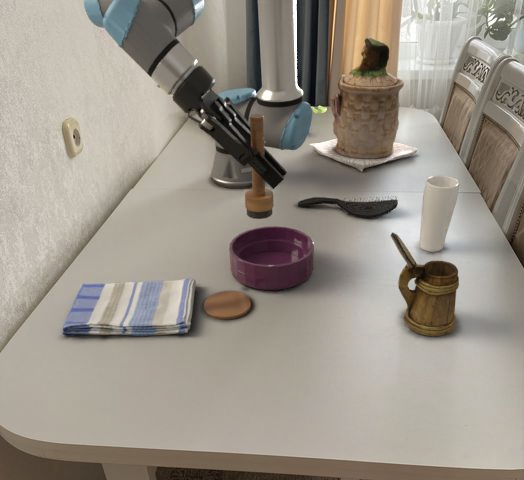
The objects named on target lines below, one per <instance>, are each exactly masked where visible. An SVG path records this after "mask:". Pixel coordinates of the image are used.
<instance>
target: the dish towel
mask: <svg viewBox="0 0 524 480" xmlns="http://www.w3.org/2000/svg"><path fill="white" fill-rule="evenodd" d="M196 284H197V283H196V279H194V278H183V279H175V280H147V281H146V280H145V281H135V282H133V281H131V282H130V281H128V282H127V281H124V282H123V281H122V282H121V281H119V282H113V283H83V284H81V287H80V289H79V291H78V292H77V295H76V296H75V299H74V300H73V301H74V302H73V304H72V306H71V308H70V311H69V313H68V315H67V317H66V320H65V323H64V324H63V327H62V335H63V336H69V337H71V336H85V335H97V336H98V335H99V336H108V335H117V336H119V335H120V336H121V335H122V336H125V335H126V336H139V337H140V336H141V337H143V336H146V337H147V336H160V335H177V334H179V335H180V334H187V333H188V332H189V330H191V325H192V322H191V321H192V318H193V317H192V316H193V310H194V301H195V291H196V286H197V285H196Z"/></svg>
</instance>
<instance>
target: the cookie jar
mask: <svg viewBox="0 0 524 480" xmlns="http://www.w3.org/2000/svg"><path fill="white" fill-rule="evenodd" d="M364 44H365V45H364V46H363V48H362V50H361V53H360V55H361V56H362V59H361V62H360V64H359V65H358V66H356V67H355V68H353V69H352V70H351V71H349V73H347V75H345V74H342V75H341V76H340V77H339V80H338V83H337V88H338V90H339V93H336V94H335V95H334V97H331V98H330V101H329V106H330V108H331V113H332V116H333V119H334V120H333V124H332V125H333V127H332V128H333V129H332V131H333V134H334V135H335V137H336V138H333V139H330V140H326V141H322V142H315V143H310V144H309V146H310V147H312V148H313V149H314V150H315V152H317V153H318V154H319V155H321V156H324V157H326V158H329V159H332V160H335V161H337V162H340V163H342V164H345V165H347V166H350V167H352V168H355V169H357V170H358V171H360V172H363V171H364V169H367V168H369V167H374V166H379V165H381V164H385V163H388V162H391V161H395V160H399V159H403V158H408V157H409V158H410V157H414V156H416V154H417V152H418V148H417V147H414V146H410V145H407V144H402V143H400V142H396V141H395V140H396V138H397V133H398V129H399V126H400V120H399V118H400V117H399V116H400V91H401V90H402V89H403V88H404V86H405V81H403V79H401V78H398V77H395V76H394V75H392V74H391V73H389V72H388V71H387V67H388V63H389V60H390V47H389V46H388V45H387V44H386V43H385V42H381V41H380V40H377V39H375V38H372V37H366V38H365V39H364Z"/></svg>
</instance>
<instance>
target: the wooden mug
mask: <svg viewBox="0 0 524 480" xmlns="http://www.w3.org/2000/svg"><path fill="white" fill-rule="evenodd" d="M390 238H391V239H392V242H393V243H394V245H395V247H396V248H397V250H398V253H399V254H400V255H401V257H402V258H403V259H404V261H405V263H406V264H405V266H404V267H403V268H402V270H401V272H400V274H399V277H398V281H397V282H398V283H397V284H398V285H397V286H398V290H399V292H400V294H401V296H402V298H403V299H404V301H405V303H406V309H405V312H404V315H403V322H404V324H405V325H406V326H407V327H408V329H410V330H411V331H412V332H414V333H416V334H418V335H421V336H426V337H441V336H445V335H447V334H450V333H451V332H453V331H454V330H455V328H456V320H457V319H456V318H457V317H456V314H455V313H456V299H457V290H458V289H459V287H460V277H459V269H458V268H457V266H456V265H455V264H454V263H452V262H449V261H445V260H430V261H427V262H425V263H424V264H420V263H417V261H416V260H415V258H414V257H413V255H412V254H411V252H410V250H409V249H408V247H407V246H406V245H405V243H404V242H403V240H402V239H401V237H400V236H399V235H398V234H397V233H396V232H391V234H390ZM413 279H414V285H415V286H414V289H411V288H410V287H409V283H410V281H411V280H413Z"/></svg>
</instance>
